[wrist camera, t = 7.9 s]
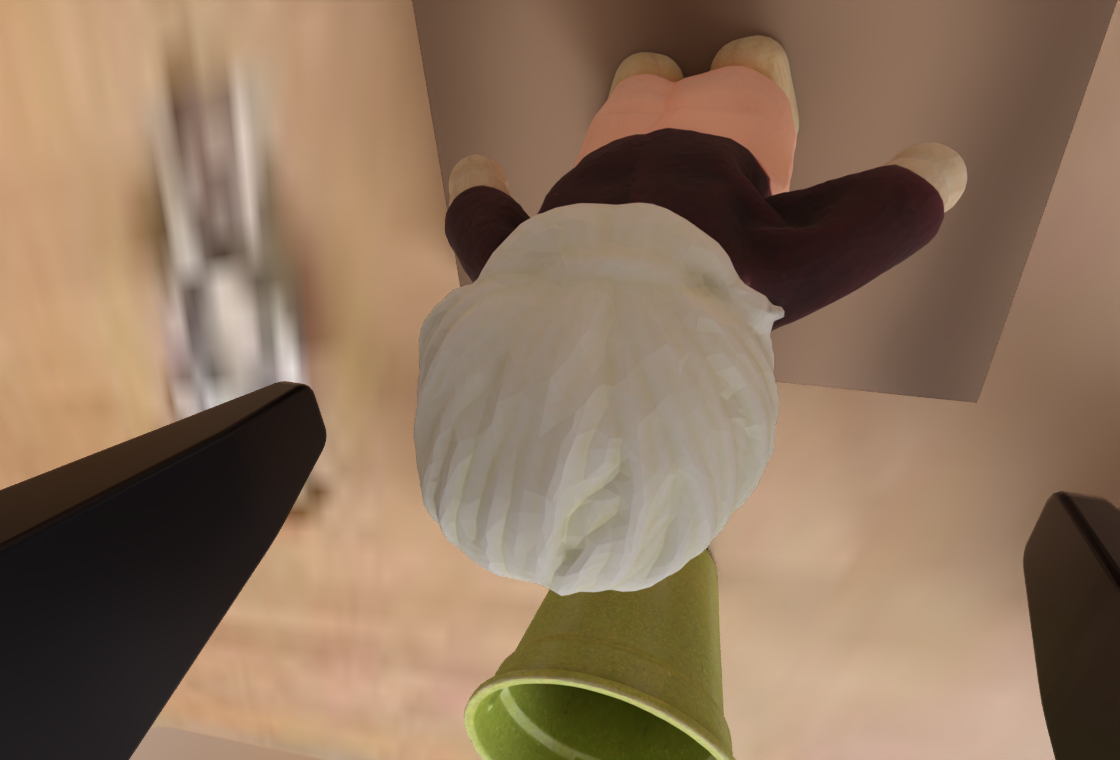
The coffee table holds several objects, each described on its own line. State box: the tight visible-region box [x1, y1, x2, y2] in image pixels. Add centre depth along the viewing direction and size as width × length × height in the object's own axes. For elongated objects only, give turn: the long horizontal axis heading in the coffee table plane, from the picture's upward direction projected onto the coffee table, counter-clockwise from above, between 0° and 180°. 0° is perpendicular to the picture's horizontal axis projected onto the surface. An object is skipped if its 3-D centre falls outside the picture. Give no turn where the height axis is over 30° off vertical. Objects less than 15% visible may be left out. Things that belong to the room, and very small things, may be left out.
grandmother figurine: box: [414, 35, 967, 596], centre depth 10 cm, size 8×4×13 cm, turn 110°
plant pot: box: [464, 549, 735, 760], centre depth 25 cm, size 9×9×9 cm
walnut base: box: [412, 0, 1117, 403], centre depth 16 cm, size 14×14×3 cm
